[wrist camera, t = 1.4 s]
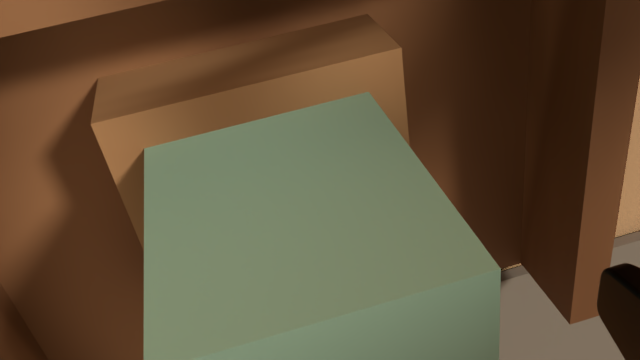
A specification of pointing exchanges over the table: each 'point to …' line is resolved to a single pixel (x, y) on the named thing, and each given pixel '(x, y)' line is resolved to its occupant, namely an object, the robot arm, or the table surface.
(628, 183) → the table surface
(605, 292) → the robot arm
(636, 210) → the table surface
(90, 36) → the caddy
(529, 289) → the pad
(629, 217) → the table surface
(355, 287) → the teal block
